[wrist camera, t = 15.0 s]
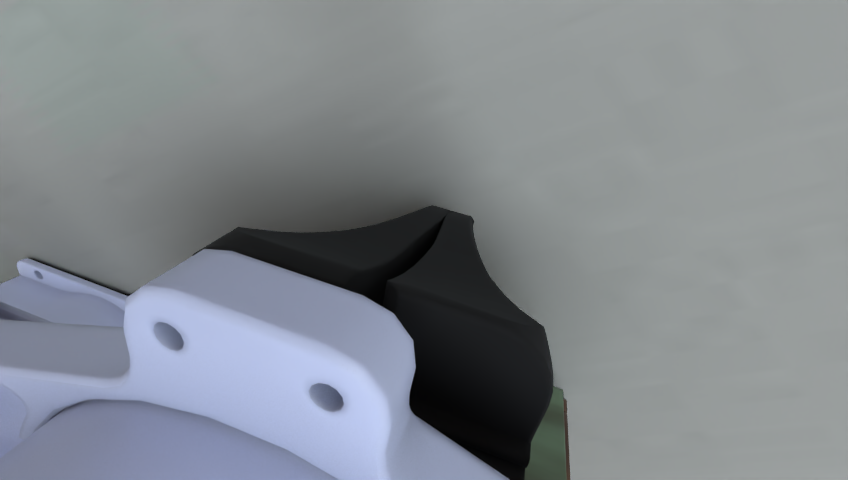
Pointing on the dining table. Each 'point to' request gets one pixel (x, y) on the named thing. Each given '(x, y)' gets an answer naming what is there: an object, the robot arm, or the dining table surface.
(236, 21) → the dining table surface
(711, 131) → the dining table surface
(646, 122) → the dining table surface
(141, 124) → the dining table surface
